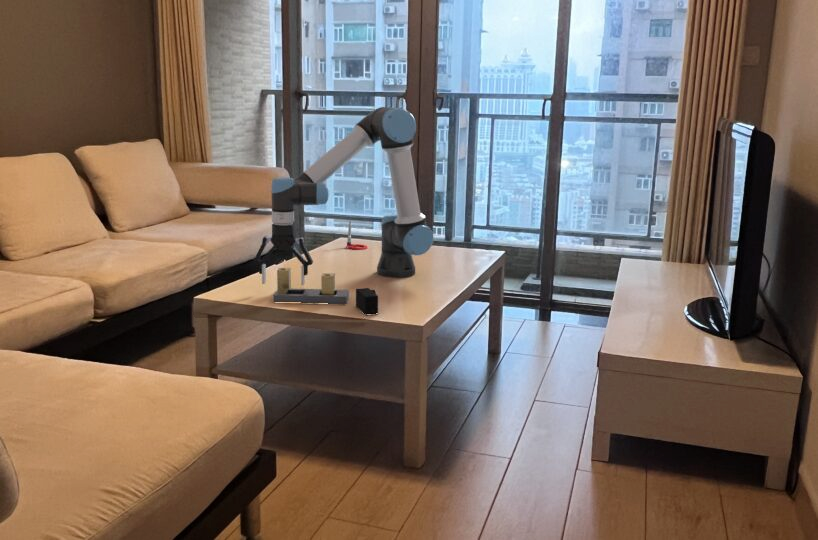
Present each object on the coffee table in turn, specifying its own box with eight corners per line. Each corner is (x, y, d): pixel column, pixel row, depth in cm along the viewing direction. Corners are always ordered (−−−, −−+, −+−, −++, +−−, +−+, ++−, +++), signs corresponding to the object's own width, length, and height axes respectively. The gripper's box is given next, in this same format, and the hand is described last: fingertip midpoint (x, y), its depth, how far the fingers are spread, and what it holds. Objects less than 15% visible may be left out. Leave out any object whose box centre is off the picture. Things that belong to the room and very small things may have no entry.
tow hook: (368, 247, 351) (348, 245, 351) (370, 219, 347) (350, 218, 348) (365, 251, 342) (345, 249, 343) (367, 223, 339) (346, 221, 340)
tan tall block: (291, 292, 269) (290, 267, 267) (289, 295, 265) (288, 270, 263) (279, 292, 269) (279, 267, 267) (277, 295, 265) (277, 270, 263)
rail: (348, 299, 262) (348, 289, 261) (346, 307, 253) (346, 296, 252) (278, 298, 262) (278, 288, 261) (273, 305, 253) (273, 295, 252)
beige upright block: (334, 299, 259) (334, 273, 257) (333, 302, 255) (333, 276, 253) (323, 299, 259) (322, 273, 257) (321, 302, 255) (321, 275, 253)
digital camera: (381, 316, 244) (382, 295, 242) (365, 318, 242) (365, 296, 240) (371, 307, 253) (371, 287, 251) (355, 309, 251) (355, 288, 249)
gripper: (244, 224, 258) (245, 285, 263) (318, 226, 258) (318, 287, 263) (248, 220, 265) (250, 279, 270) (320, 222, 265) (320, 282, 270)
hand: (283, 283), depth 266 cm, fingers open, 13 cm apart
